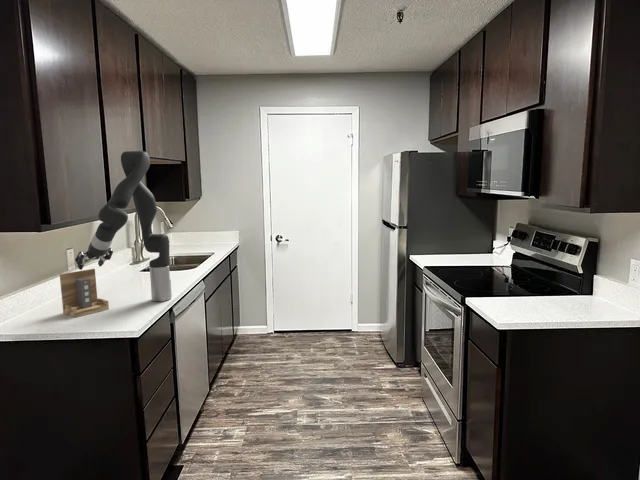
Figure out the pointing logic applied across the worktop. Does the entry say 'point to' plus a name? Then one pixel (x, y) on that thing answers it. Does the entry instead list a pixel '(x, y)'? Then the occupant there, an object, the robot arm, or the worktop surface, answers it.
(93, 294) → the wooden angled stand
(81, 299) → the power strip
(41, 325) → the worktop surface
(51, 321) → the worktop surface
